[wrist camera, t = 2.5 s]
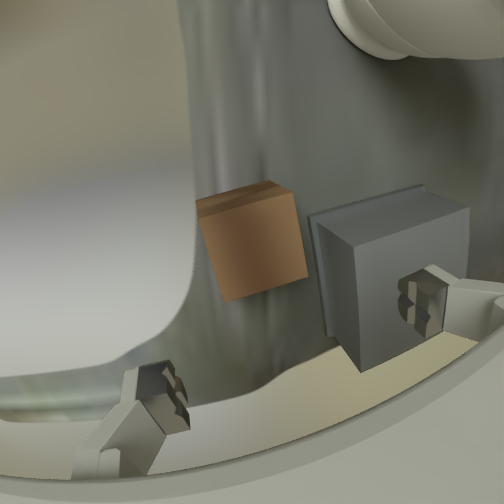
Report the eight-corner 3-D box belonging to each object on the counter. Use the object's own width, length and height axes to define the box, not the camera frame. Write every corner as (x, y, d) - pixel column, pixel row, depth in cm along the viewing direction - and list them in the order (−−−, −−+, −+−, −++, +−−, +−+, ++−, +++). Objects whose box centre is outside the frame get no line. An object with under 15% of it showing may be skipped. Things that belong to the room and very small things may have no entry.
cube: (268, 179, 20) (292, 192, 16) (283, 247, 22) (308, 276, 18) (195, 200, 20) (197, 218, 15) (216, 268, 22) (224, 302, 17)
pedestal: (421, 184, 23) (473, 200, 17) (422, 293, 27) (461, 323, 21) (306, 215, 22) (346, 242, 16) (325, 334, 26) (355, 378, 20)
